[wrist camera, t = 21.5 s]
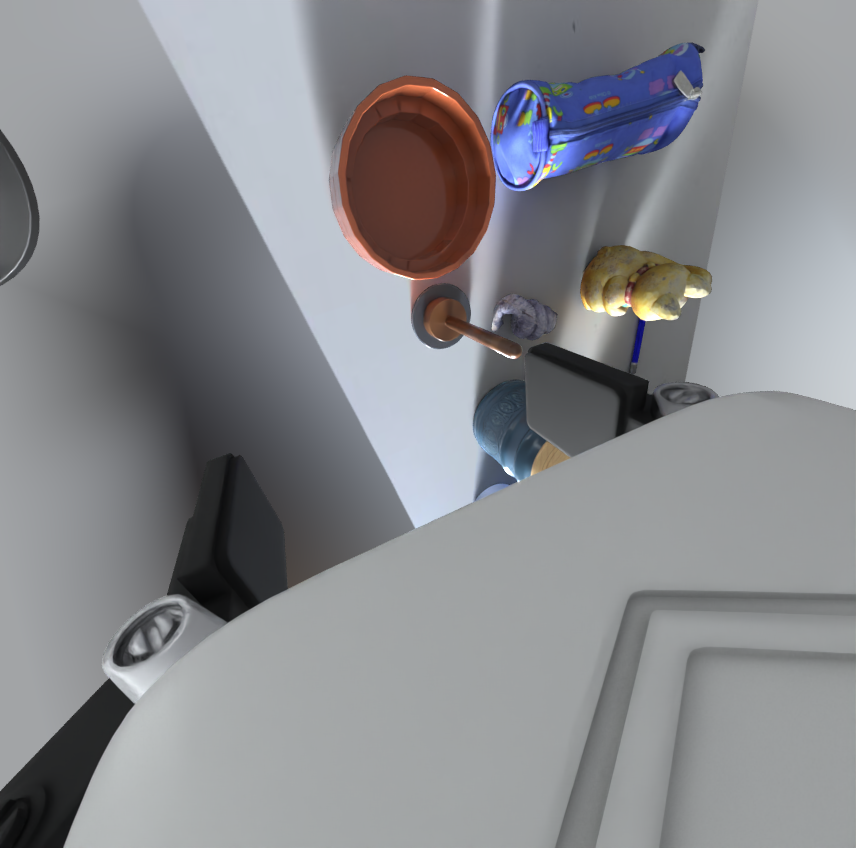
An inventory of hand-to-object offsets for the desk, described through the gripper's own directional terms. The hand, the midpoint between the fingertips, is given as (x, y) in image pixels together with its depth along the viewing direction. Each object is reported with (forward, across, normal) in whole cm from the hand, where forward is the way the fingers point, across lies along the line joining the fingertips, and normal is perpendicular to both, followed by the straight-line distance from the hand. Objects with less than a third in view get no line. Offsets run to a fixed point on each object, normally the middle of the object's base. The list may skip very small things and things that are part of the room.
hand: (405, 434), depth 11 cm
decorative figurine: (+32, -40, +7) cm, 52 cm away
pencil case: (+32, -34, -10) cm, 48 cm away
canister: (+32, -23, +25) cm, 47 cm away
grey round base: (+32, -15, +6) cm, 36 cm away
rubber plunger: (+32, -15, +6) cm, 36 cm away
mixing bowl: (+32, -13, -7) cm, 35 cm away
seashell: (+32, -26, +9) cm, 43 cm away
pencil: (+33, -50, +18) cm, 62 cm away
